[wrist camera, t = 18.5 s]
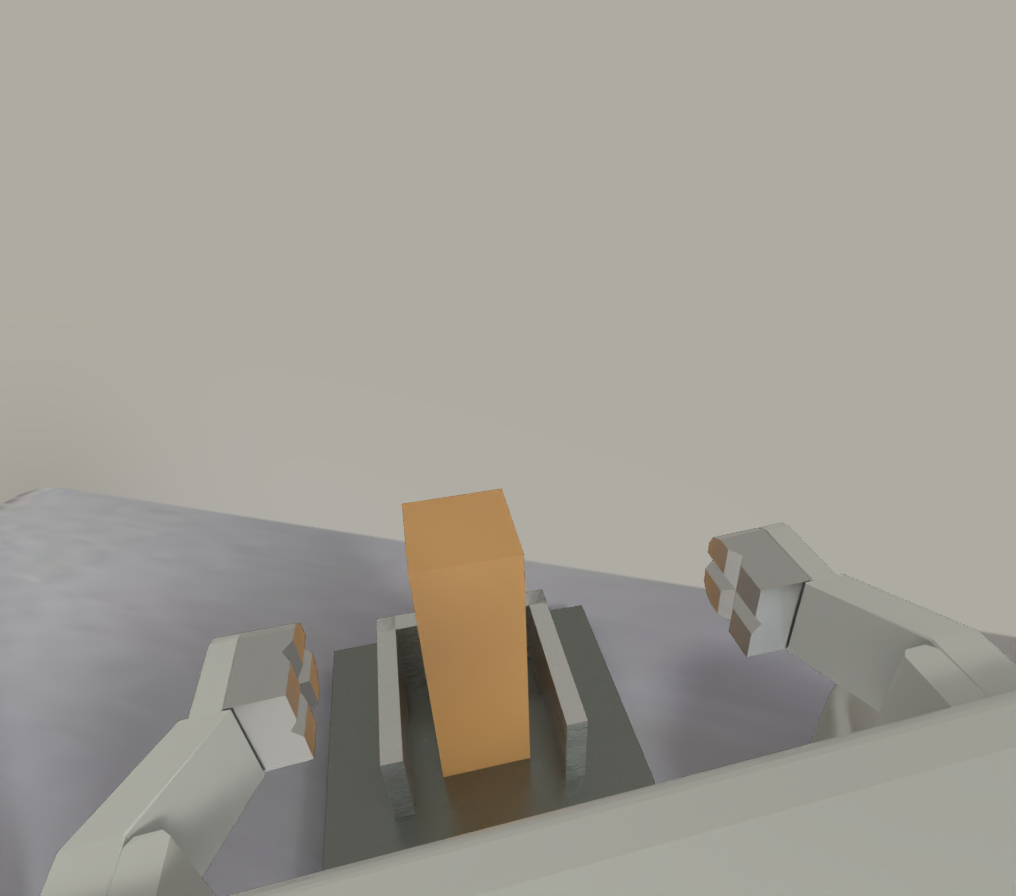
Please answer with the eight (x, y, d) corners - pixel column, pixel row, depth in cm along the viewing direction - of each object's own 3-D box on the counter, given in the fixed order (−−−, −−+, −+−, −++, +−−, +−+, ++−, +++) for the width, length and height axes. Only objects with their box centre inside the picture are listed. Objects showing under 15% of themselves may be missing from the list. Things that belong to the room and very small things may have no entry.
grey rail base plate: (670, 842, 28) (685, 773, 25) (327, 930, 26) (296, 865, 23) (581, 620, 40) (583, 554, 37) (338, 666, 38) (319, 599, 34)
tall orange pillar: (511, 684, 34) (501, 488, 27) (530, 757, 31) (523, 554, 23) (434, 699, 34) (401, 503, 26) (443, 777, 30) (408, 574, 22)
